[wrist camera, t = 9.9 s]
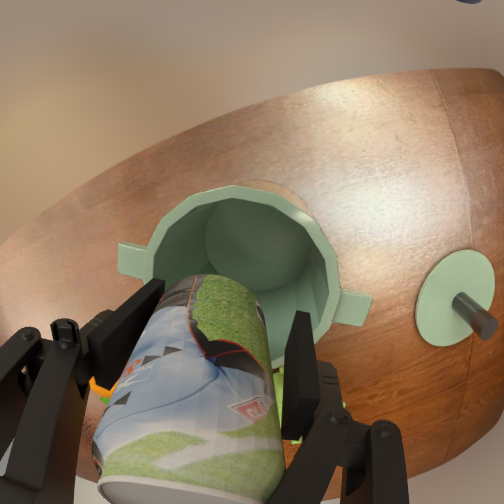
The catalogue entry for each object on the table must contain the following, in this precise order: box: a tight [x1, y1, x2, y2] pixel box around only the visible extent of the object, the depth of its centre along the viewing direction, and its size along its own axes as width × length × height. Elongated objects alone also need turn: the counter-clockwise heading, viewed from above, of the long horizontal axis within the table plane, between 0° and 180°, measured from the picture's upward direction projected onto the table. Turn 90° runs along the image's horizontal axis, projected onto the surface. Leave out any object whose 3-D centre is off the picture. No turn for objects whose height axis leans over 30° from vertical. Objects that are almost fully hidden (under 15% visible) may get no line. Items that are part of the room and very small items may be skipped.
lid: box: [415, 249, 498, 346], centre depth 27 cm, size 15×15×9 cm
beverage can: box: [92, 274, 286, 504], centre depth 10 cm, size 6×7×12 cm
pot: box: [118, 180, 373, 369], centre depth 25 cm, size 14×19×14 cm
